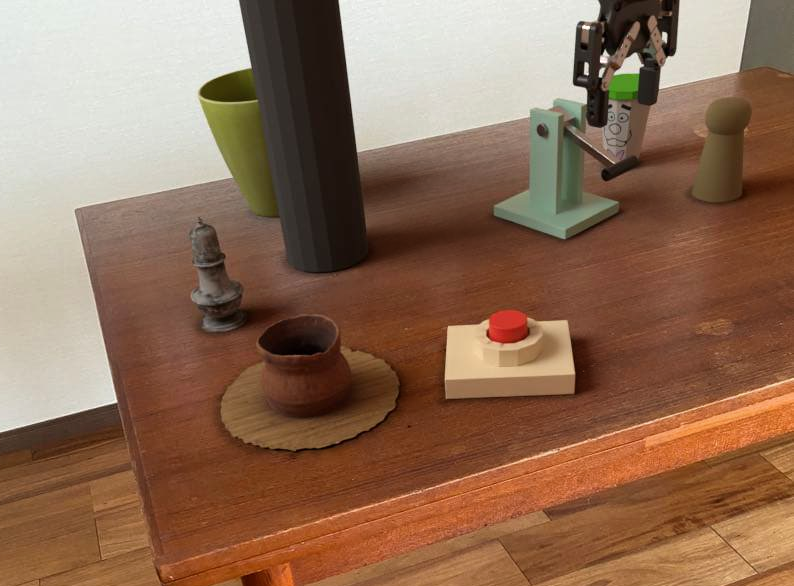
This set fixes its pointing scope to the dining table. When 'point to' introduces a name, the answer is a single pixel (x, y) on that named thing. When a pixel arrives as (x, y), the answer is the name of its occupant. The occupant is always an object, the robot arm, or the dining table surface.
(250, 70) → the flower pot
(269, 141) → the dark grey column
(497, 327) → the button
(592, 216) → the bracket
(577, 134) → the lever
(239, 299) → the salt shaker
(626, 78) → the cup
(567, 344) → the button block
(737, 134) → the olive pawn
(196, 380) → the dining table surface
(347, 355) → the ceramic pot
